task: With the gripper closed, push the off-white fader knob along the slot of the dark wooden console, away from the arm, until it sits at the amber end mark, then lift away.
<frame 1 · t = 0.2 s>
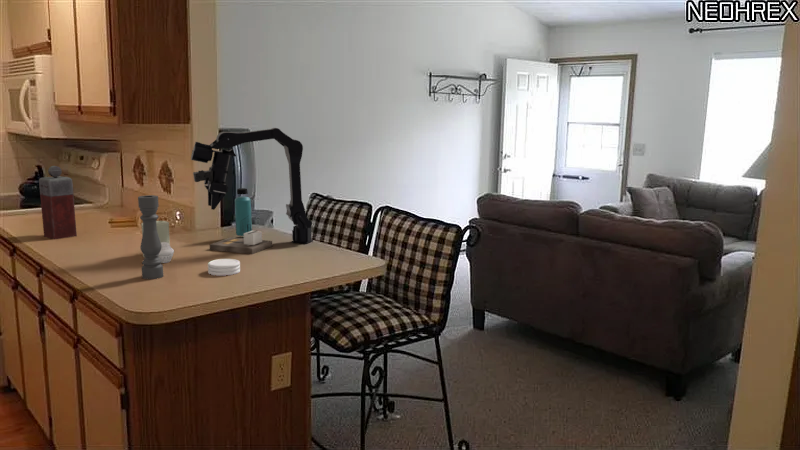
hand: (211, 207, 238), 15 cm above the worktop, tool pointing down, fingers open, 9 cm apart
beverage bottle: (244, 238, 260), on the worktop
white flat disc: (224, 273, 208), on the worktop
red lidded canister: (59, 236, 260), on the worktop
fader console: (241, 247, 242), on the worktop
fader knob: (252, 237, 239), point 4 cm above the worktop, slide at 0.0 cm
candle holder: (152, 277, 201), on the worktop
muffin: (165, 262, 220), on the worktop
can: (157, 255, 229), on the worktop
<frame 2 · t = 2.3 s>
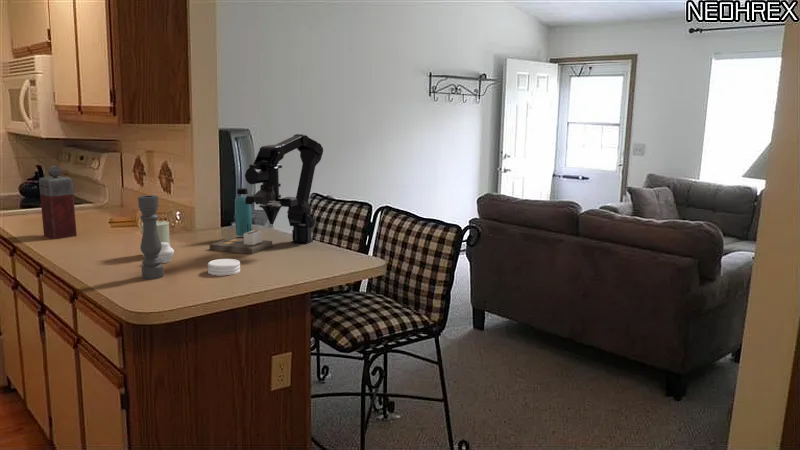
hand: (271, 224, 236), 10 cm above the worktop, tool pointing down, fingers closed
nothing on the worktop moved.
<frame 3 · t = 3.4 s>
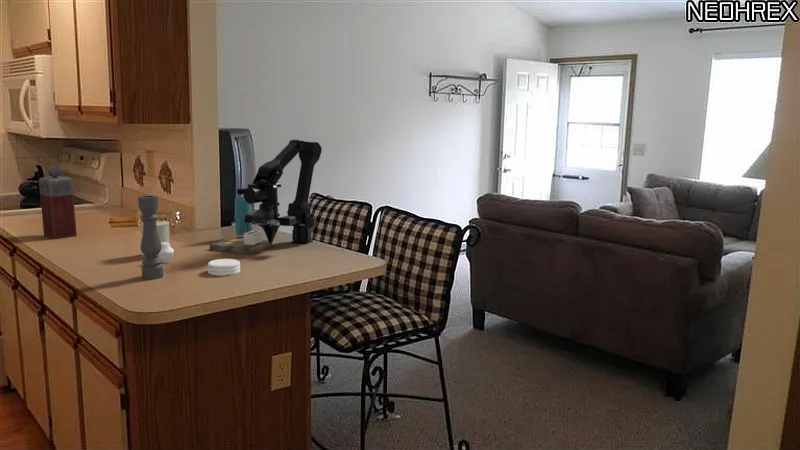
hand: (270, 242, 237), 3 cm above the worktop, tool pointing down, fingers closed
nothing on the worktop moved.
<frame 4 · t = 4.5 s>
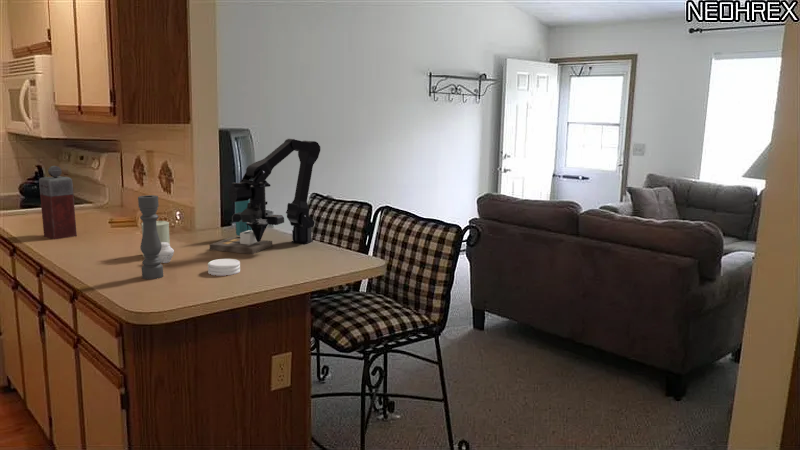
hand: (258, 241, 239), 3 cm above the worktop, tool pointing down, fingers closed
fader knob: (249, 237, 240), point 4 cm above the worktop, slide at 1.6 cm, touching gripper
everything else where it was.
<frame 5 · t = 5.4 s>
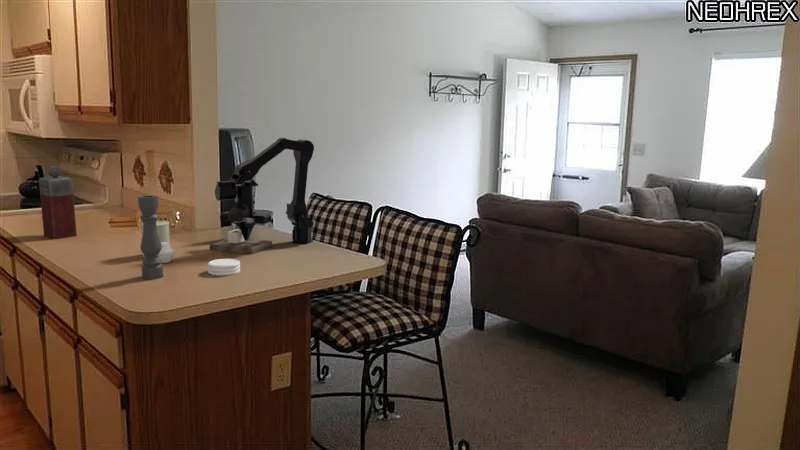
hand: (246, 240, 241), 3 cm above the worktop, tool pointing down, fingers closed
fader knob: (237, 236, 242), point 4 cm above the worktop, slide at 6.8 cm, touching gripper
everything else where it was.
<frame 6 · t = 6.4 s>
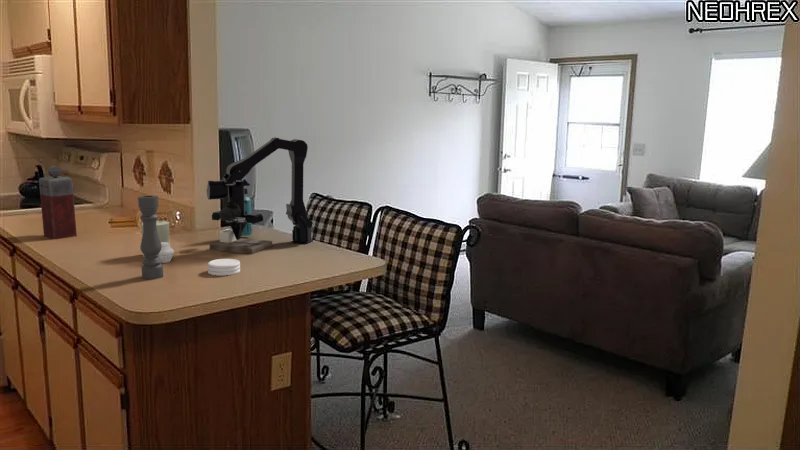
hand: (238, 239, 242), 3 cm above the worktop, tool pointing down, fingers closed
fader knob: (228, 235, 243), point 4 cm above the worktop, slide at 10.3 cm, touching gripper
everything else where it was.
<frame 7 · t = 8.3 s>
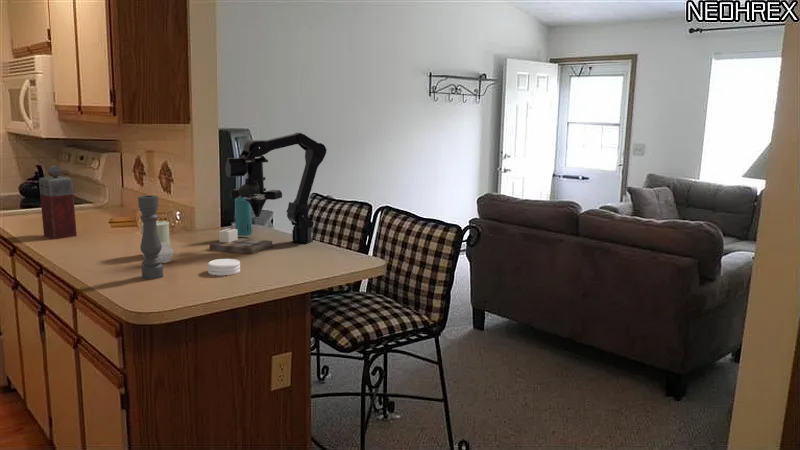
hand: (257, 216, 241), 12 cm above the worktop, tool pointing down, fingers closed
fader knob: (228, 235, 243), point 4 cm above the worktop, slide at 10.4 cm
everything else where it was.
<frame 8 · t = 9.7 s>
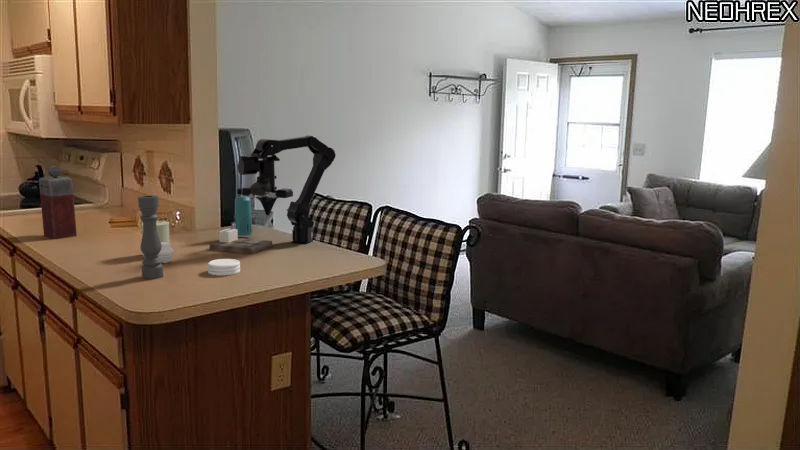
hand: (267, 215, 243), 12 cm above the worktop, tool pointing down, fingers closed
nothing on the worktop moved.
at the end: fader knob slide at 10.4 cm; beverage bottle moved 0.2 cm from its start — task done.
